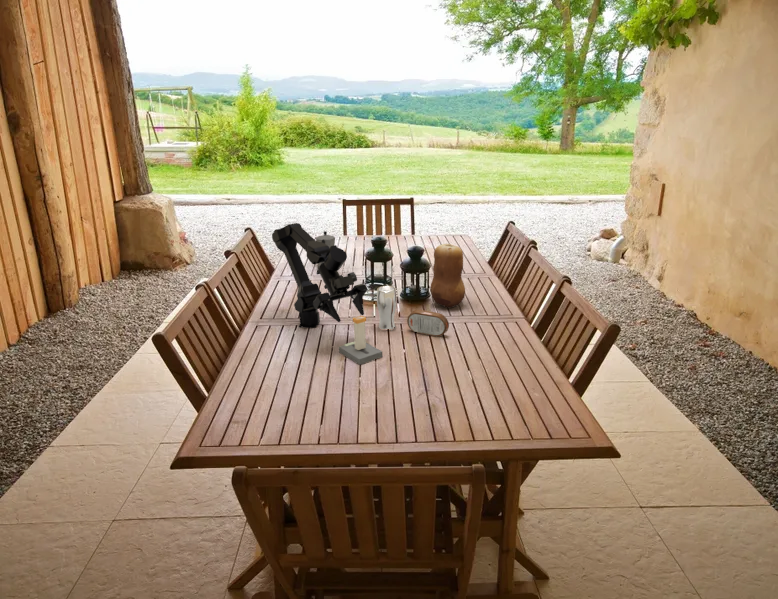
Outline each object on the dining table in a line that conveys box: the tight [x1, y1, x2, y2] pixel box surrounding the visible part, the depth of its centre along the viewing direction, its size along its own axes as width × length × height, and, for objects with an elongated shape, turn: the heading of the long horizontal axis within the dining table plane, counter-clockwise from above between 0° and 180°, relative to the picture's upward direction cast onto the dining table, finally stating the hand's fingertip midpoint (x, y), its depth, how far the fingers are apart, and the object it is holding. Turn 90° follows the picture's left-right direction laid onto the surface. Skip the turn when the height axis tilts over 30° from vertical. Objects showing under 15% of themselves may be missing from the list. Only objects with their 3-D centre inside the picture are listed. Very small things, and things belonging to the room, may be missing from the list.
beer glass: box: [376, 285, 397, 329], centre depth 209 cm, size 7×7×15 cm
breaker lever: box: [352, 315, 367, 350], centre depth 188 cm, size 2×4×11 cm, turn 128°
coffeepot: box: [315, 231, 336, 268], centre depth 279 cm, size 15×9×18 cm, turn 178°
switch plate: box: [338, 340, 383, 365], centre depth 190 cm, size 12×9×2 cm
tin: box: [406, 309, 450, 337], centre depth 204 cm, size 15×3×8 cm, turn 65°
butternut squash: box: [429, 243, 466, 309], centre depth 228 cm, size 14×13×25 cm
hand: (351, 318), depth 190 cm, fingers open, 9 cm apart
